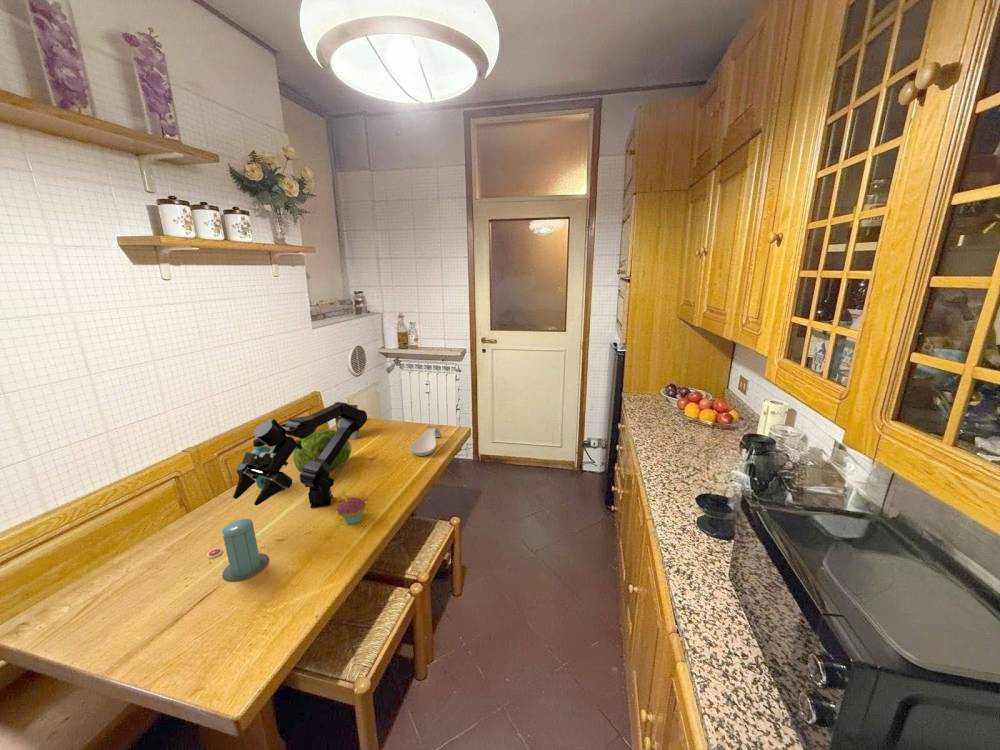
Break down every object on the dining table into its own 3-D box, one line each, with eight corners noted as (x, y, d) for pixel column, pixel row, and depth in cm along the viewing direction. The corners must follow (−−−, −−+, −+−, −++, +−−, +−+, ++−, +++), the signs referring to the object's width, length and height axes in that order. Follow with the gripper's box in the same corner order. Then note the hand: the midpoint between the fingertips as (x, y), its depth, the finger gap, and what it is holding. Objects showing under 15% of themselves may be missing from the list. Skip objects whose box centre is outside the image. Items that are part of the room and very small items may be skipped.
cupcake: (340, 530, 124) (335, 496, 122) (337, 516, 132) (333, 484, 129) (369, 522, 128) (365, 489, 125) (364, 509, 136) (360, 477, 133)
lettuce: (369, 442, 170) (340, 414, 175) (327, 456, 148) (296, 423, 153) (349, 473, 175) (322, 445, 179) (306, 490, 153) (276, 458, 158)
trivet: (274, 551, 116) (274, 550, 116) (262, 578, 105) (261, 577, 105) (232, 558, 113) (232, 557, 113) (215, 586, 103) (214, 585, 103)
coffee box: (337, 439, 195) (333, 408, 191) (344, 434, 202) (340, 403, 198) (354, 440, 194) (350, 408, 190) (361, 434, 200) (357, 404, 196)
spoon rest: (431, 460, 171) (430, 444, 169) (405, 458, 173) (404, 443, 172) (448, 438, 194) (447, 424, 192) (425, 437, 196) (424, 423, 194)
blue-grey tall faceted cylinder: (259, 555, 114) (252, 516, 111) (261, 569, 108) (253, 528, 105) (231, 564, 110) (222, 524, 107) (231, 579, 105) (222, 538, 101)
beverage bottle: (263, 484, 154) (253, 436, 149) (280, 483, 154) (272, 435, 149) (254, 493, 148) (244, 443, 143) (273, 492, 148) (263, 442, 143)
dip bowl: (224, 550, 117) (224, 546, 117) (219, 558, 114) (218, 555, 113) (211, 552, 116) (210, 549, 116) (205, 561, 113) (204, 557, 113)
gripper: (240, 436, 122) (202, 482, 113) (282, 445, 114) (245, 496, 105) (265, 454, 130) (232, 499, 121) (306, 464, 122) (273, 513, 113)
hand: (244, 501), depth 115 cm, fingers open, 9 cm apart
